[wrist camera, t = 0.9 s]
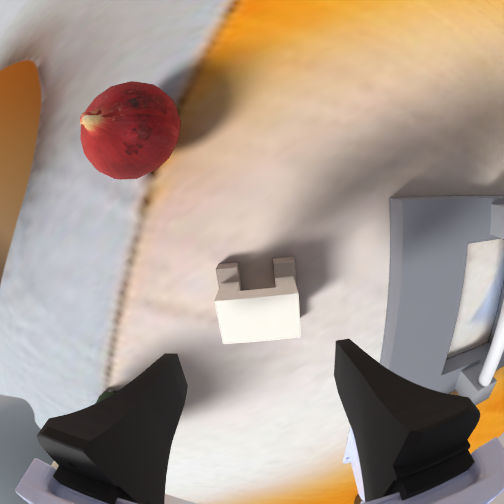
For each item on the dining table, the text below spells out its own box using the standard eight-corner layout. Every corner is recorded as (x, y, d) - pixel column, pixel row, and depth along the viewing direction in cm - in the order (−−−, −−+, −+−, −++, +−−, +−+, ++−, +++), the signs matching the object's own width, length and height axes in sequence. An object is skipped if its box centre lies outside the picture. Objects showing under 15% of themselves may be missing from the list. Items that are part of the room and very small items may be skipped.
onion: (178, 86, 16) (130, 38, 8) (205, 157, 17) (164, 142, 10) (109, 122, 17) (38, 103, 9) (132, 190, 18) (61, 202, 10)
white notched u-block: (297, 319, 20) (304, 349, 16) (228, 325, 20) (222, 356, 17) (293, 256, 19) (300, 276, 15) (218, 264, 19) (208, 285, 15)
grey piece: (509, 350, 21) (531, 372, 16) (371, 403, 23) (387, 443, 17) (537, 196, 16) (570, 204, 11) (389, 198, 17) (432, 207, 12)
